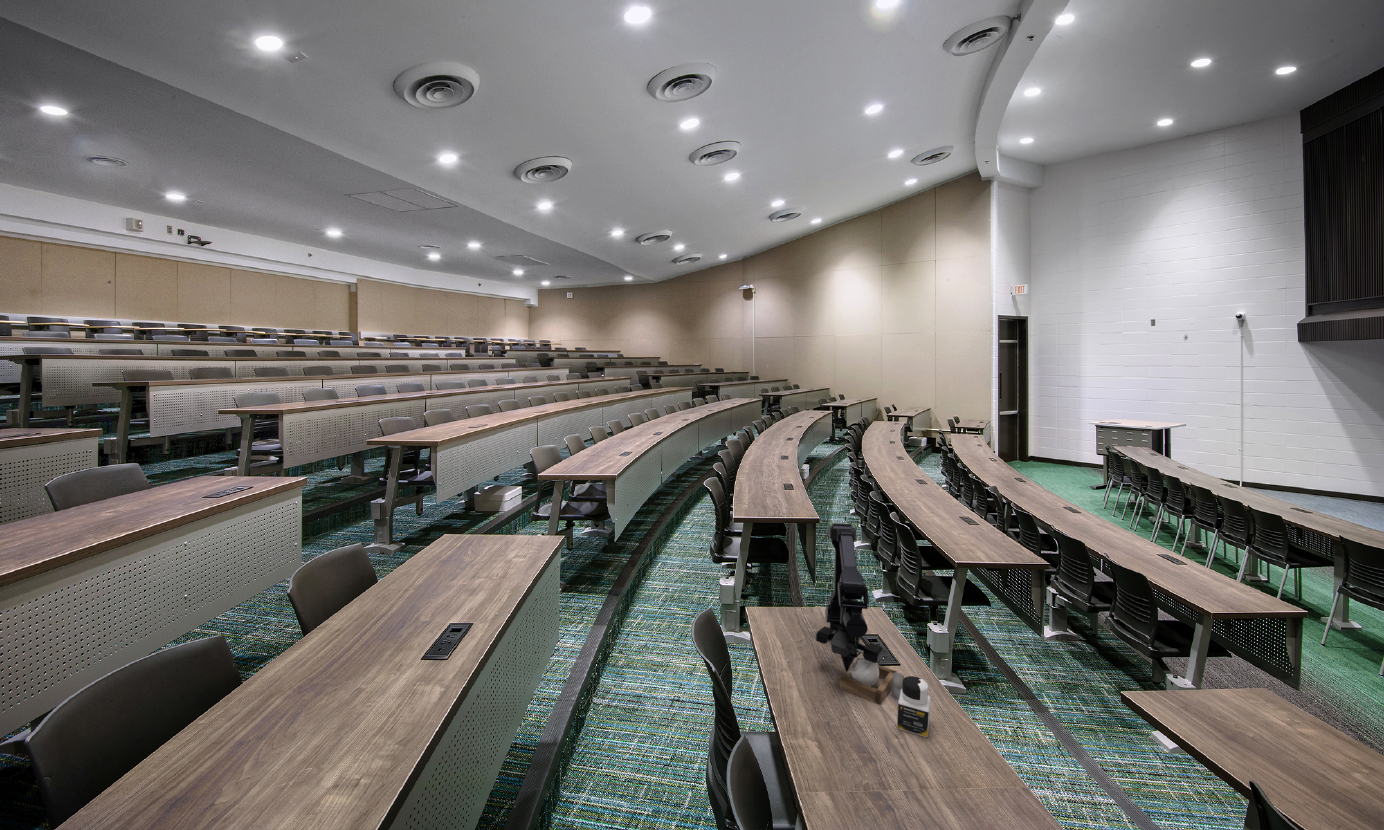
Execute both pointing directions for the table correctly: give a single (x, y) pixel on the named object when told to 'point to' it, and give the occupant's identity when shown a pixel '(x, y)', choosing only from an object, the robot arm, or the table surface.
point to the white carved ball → (865, 672)
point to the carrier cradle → (872, 694)
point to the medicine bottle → (914, 706)
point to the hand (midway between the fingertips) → (847, 671)
